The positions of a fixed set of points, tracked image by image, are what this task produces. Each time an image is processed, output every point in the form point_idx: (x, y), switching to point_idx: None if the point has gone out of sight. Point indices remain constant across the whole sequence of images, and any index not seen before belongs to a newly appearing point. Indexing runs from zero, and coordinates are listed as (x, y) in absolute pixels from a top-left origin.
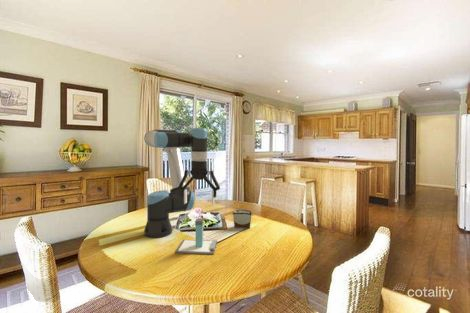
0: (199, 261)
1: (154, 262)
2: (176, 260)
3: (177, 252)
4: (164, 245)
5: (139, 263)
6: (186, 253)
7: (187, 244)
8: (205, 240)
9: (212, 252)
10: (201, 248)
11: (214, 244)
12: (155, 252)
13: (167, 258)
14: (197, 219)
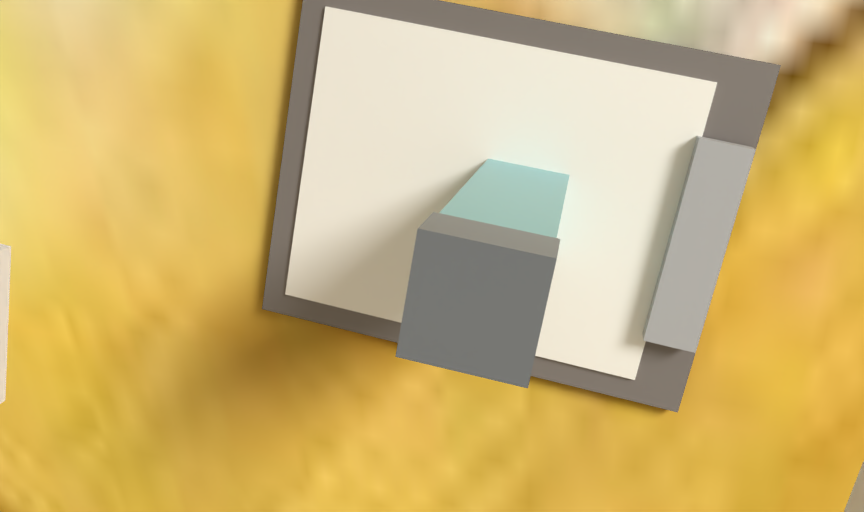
0: (518, 506)
1: (120, 438)
2: (301, 443)
3: (286, 312)
4: (117, 87)
5: (7, 429)
6: (381, 333)
7: (373, 144)
8: (607, 37)
9: (667, 389)
10: None
11: (715, 248)
12: (73, 247)
13: (213, 390)
14: (435, 273)
